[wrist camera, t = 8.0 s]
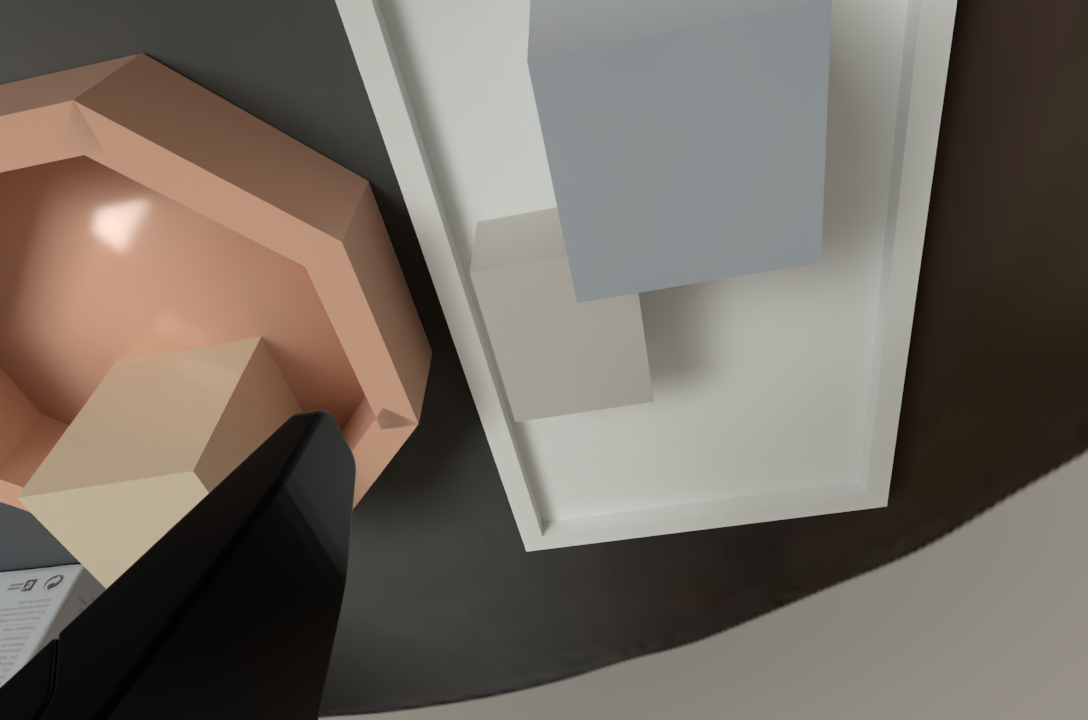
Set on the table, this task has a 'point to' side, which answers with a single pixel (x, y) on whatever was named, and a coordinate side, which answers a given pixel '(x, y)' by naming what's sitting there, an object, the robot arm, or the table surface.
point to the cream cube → (155, 448)
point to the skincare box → (39, 610)
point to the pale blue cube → (682, 136)
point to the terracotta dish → (188, 259)
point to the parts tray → (690, 310)
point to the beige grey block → (554, 324)
